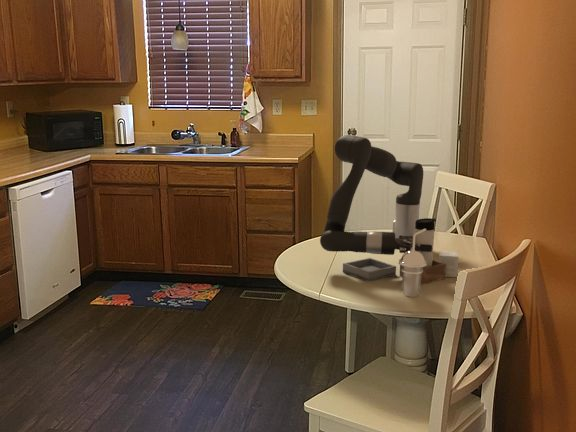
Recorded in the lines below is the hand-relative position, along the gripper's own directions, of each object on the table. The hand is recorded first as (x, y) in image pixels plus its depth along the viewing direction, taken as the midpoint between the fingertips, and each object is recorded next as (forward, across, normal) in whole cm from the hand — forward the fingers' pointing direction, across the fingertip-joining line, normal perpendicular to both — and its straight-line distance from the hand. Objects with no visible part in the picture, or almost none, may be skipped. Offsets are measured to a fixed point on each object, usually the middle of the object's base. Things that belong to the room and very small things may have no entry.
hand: (431, 245), depth 207 cm
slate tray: (-20, +1, +11) cm, 23 cm away
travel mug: (-2, 0, +11) cm, 11 cm away
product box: (+6, +5, +11) cm, 14 cm away
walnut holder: (-2, 0, +11) cm, 11 cm away
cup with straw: (-6, -18, +11) cm, 22 cm away
